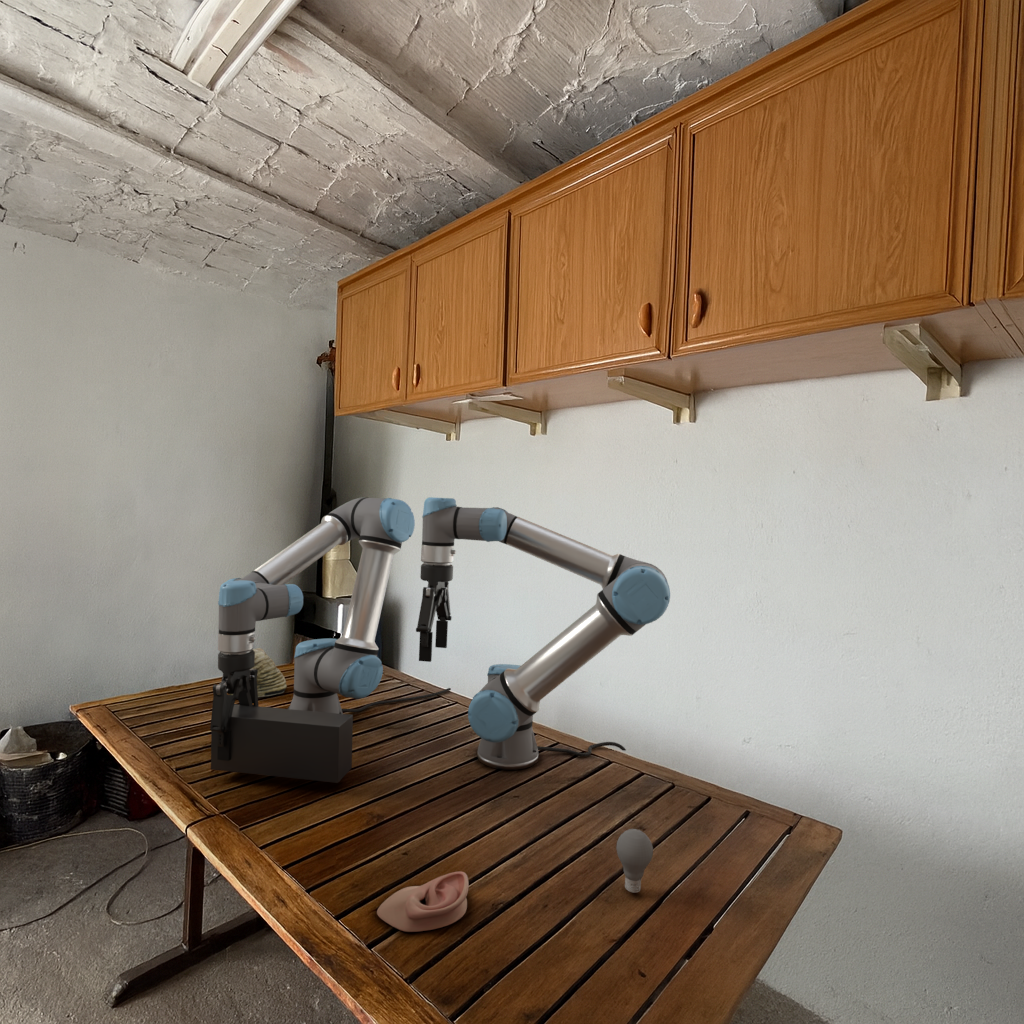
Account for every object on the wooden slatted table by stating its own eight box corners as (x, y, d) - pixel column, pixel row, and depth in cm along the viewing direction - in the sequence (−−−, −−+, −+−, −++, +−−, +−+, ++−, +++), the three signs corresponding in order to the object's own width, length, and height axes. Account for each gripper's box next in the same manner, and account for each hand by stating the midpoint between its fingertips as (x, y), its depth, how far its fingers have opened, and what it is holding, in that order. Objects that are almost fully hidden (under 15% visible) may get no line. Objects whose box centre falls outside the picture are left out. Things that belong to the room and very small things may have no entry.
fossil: (218, 695, 195) (220, 647, 195) (278, 685, 208) (279, 640, 207) (228, 703, 189) (230, 653, 188) (289, 692, 201) (290, 645, 201)
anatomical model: (369, 898, 94) (398, 856, 105) (368, 925, 94) (397, 880, 106) (454, 914, 92) (475, 869, 103) (453, 941, 92) (474, 893, 103)
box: (210, 769, 139) (211, 715, 138) (230, 755, 146) (231, 703, 146) (337, 783, 134) (339, 726, 134) (351, 768, 142) (353, 714, 141)
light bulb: (610, 879, 108) (613, 822, 108) (644, 879, 109) (647, 822, 109) (619, 902, 102) (622, 840, 102) (655, 901, 103) (658, 840, 103)
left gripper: (224, 664, 130) (223, 773, 131) (276, 641, 150) (274, 736, 151) (191, 661, 132) (190, 769, 132) (246, 639, 152) (245, 733, 152)
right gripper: (438, 569, 135) (434, 668, 135) (464, 559, 160) (461, 643, 160) (404, 567, 136) (400, 665, 136) (436, 558, 161) (432, 641, 161)
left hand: (234, 751), depth 142 cm, fingers closed on box, 7 cm apart
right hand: (433, 654), depth 148 cm, fingers open, 13 cm apart
